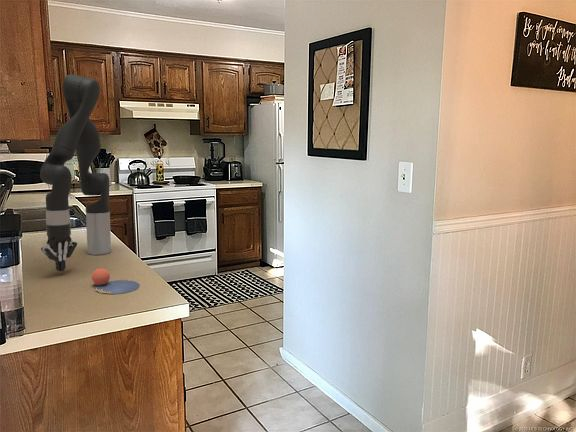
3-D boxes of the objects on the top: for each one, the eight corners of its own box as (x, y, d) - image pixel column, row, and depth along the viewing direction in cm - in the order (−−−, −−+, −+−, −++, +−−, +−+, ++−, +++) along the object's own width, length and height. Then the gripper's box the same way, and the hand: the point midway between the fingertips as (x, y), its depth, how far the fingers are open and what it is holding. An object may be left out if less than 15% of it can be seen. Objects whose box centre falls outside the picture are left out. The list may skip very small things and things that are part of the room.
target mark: (95, 282, 161) (95, 281, 161) (139, 279, 165) (139, 279, 165) (92, 296, 147) (92, 295, 147) (140, 292, 152) (140, 291, 152)
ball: (95, 263, 158) (106, 268, 155) (105, 270, 162) (116, 275, 159) (84, 278, 156) (95, 283, 153) (95, 285, 160) (106, 290, 157)
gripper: (47, 226, 157) (50, 277, 160) (82, 220, 168) (84, 268, 171) (33, 224, 161) (36, 273, 164) (68, 218, 172) (70, 264, 175)
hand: (61, 270), depth 168 cm, fingers closed
